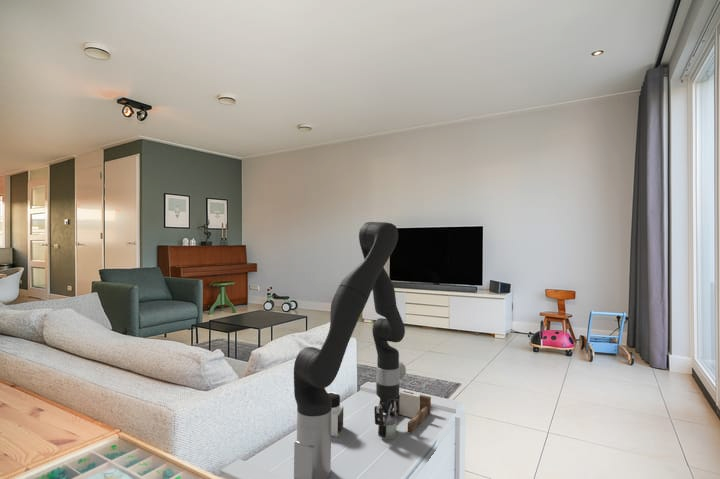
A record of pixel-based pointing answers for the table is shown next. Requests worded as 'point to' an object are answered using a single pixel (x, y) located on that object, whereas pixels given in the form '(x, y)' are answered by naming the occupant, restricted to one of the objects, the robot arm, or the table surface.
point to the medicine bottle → (336, 414)
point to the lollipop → (401, 370)
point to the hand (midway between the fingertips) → (387, 431)
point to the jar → (390, 427)
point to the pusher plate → (409, 404)
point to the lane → (424, 412)
